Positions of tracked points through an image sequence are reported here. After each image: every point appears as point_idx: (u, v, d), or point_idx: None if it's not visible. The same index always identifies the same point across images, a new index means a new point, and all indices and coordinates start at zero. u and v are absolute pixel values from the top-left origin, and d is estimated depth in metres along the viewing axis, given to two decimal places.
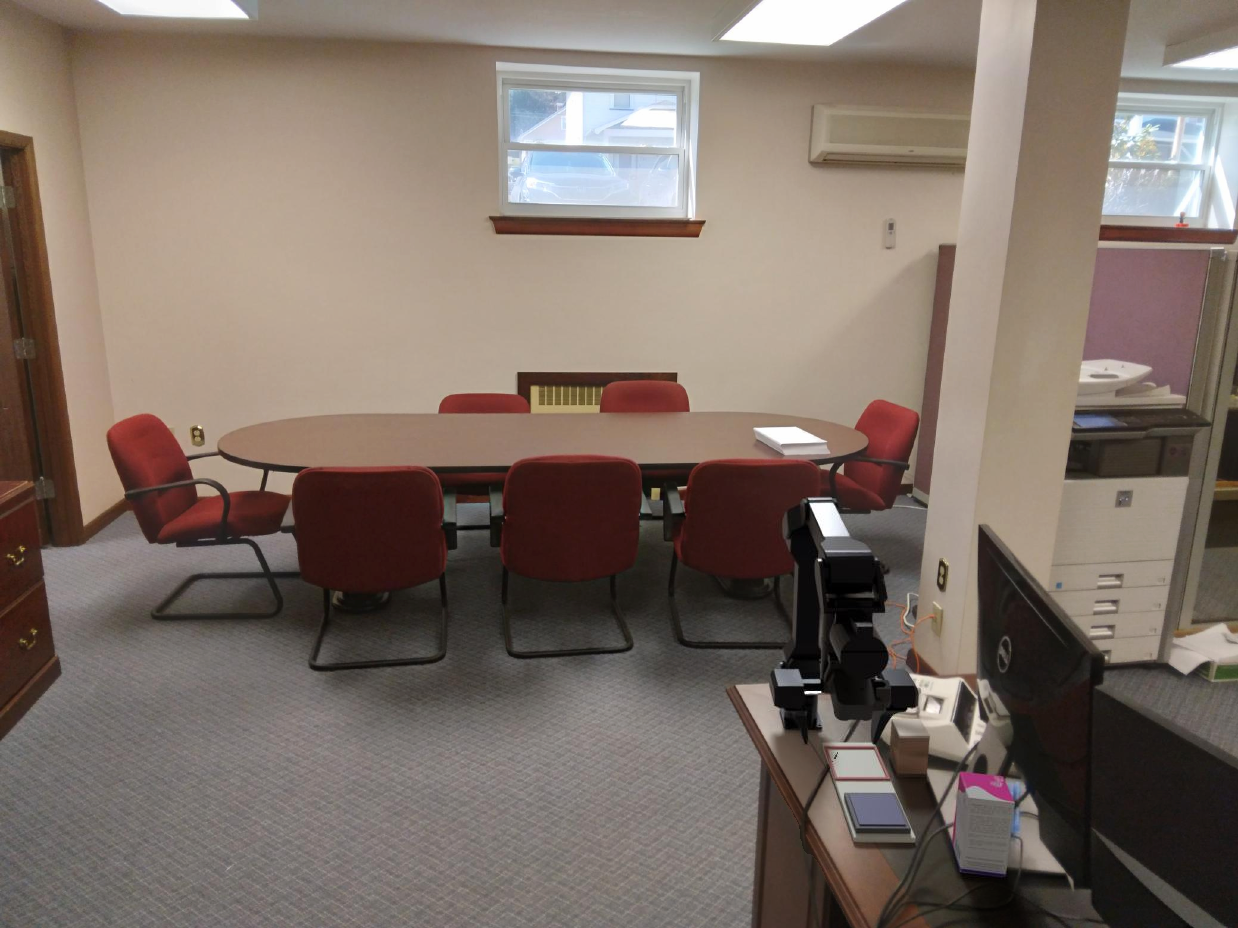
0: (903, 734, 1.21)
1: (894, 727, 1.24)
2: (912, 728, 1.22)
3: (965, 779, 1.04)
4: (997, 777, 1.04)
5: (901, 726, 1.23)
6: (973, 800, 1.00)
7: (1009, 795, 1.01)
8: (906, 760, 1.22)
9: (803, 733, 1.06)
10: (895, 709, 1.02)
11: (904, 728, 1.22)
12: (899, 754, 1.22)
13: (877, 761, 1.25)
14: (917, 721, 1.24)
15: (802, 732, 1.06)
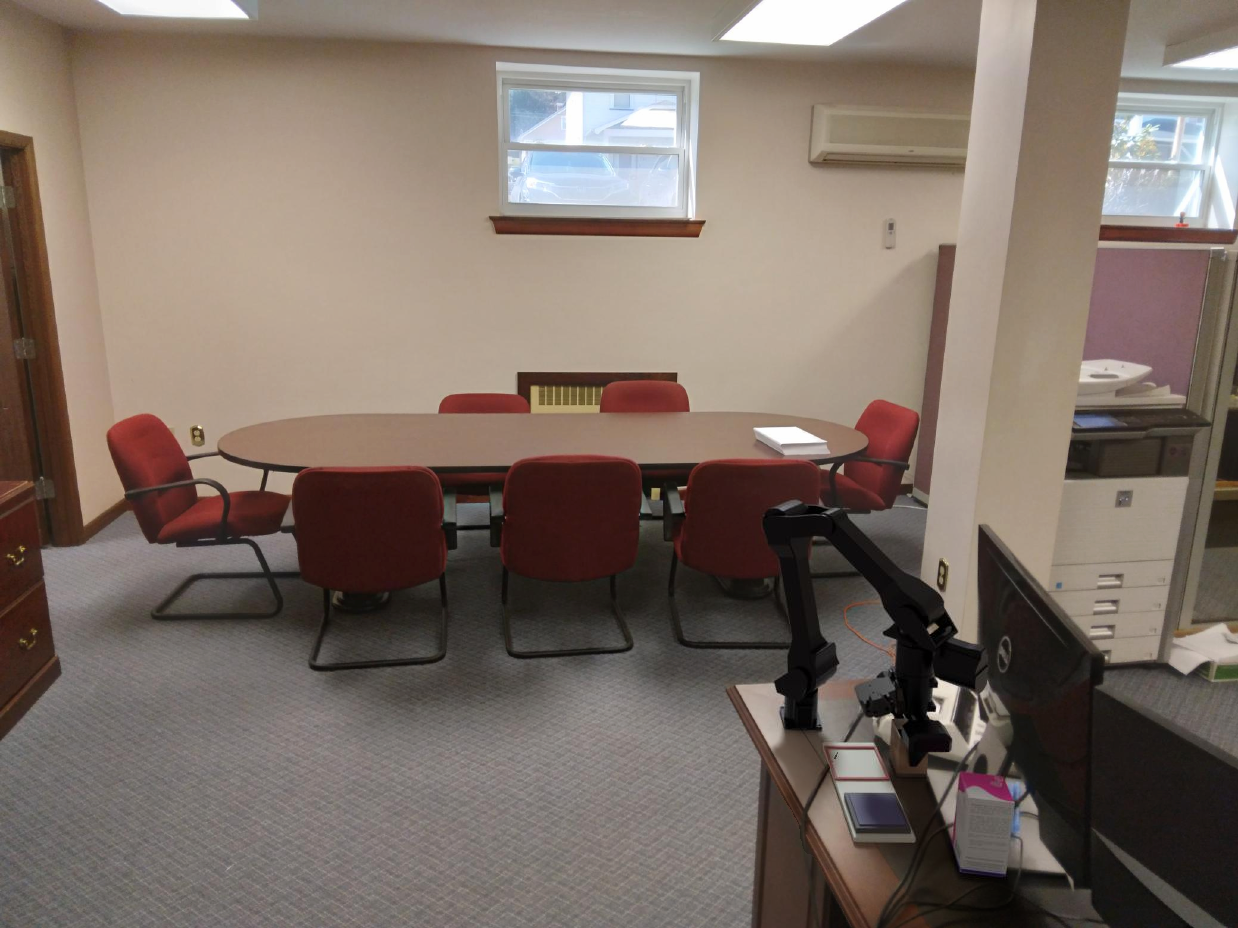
0: None
1: (894, 727, 1.24)
2: None
3: (965, 779, 1.04)
4: (997, 777, 1.04)
5: (901, 726, 1.23)
6: (973, 800, 1.00)
7: (1009, 795, 1.01)
8: (906, 760, 1.22)
9: None
10: (900, 733, 1.18)
11: None
12: (899, 754, 1.22)
13: (877, 761, 1.25)
14: None
15: None
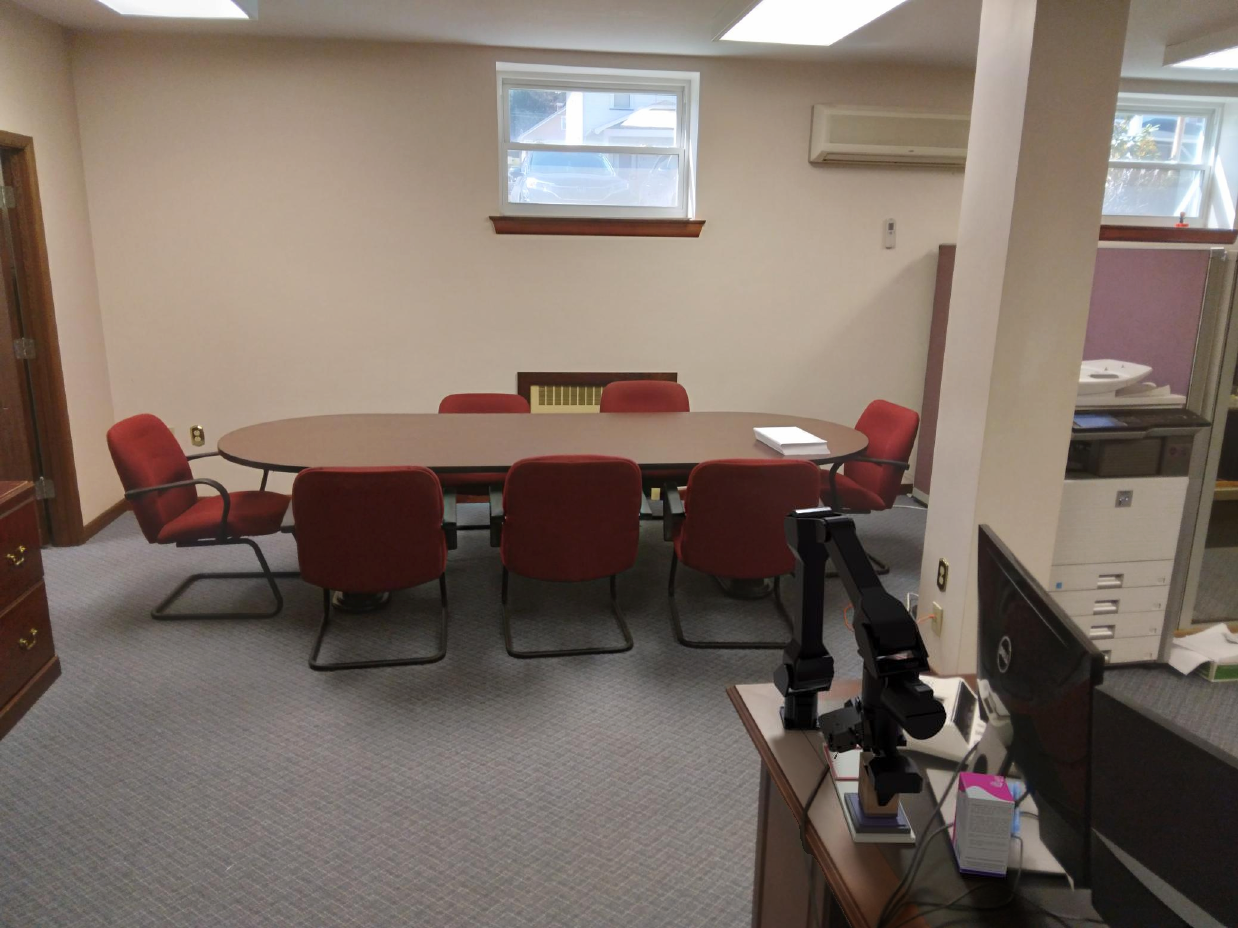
0: None
1: (862, 761, 1.12)
2: None
3: (965, 779, 1.04)
4: (997, 777, 1.04)
5: None
6: (973, 800, 1.00)
7: (1009, 795, 1.01)
8: (875, 799, 1.10)
9: None
10: (867, 770, 1.07)
11: None
12: (867, 792, 1.10)
13: None
14: None
15: None
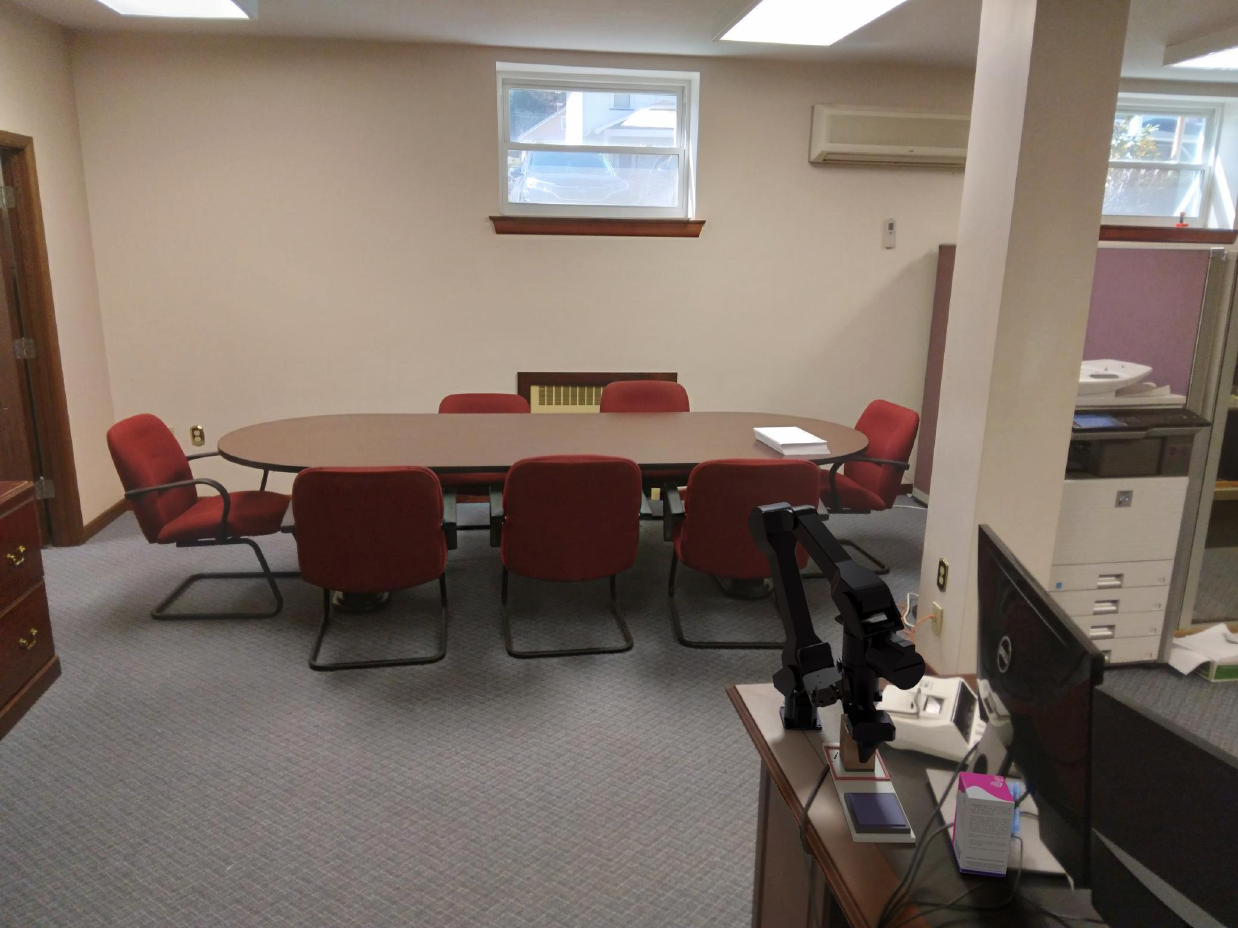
0: None
1: (843, 722, 1.24)
2: None
3: (965, 779, 1.04)
4: (997, 777, 1.04)
5: None
6: (973, 800, 1.00)
7: (1009, 795, 1.01)
8: (854, 755, 1.22)
9: None
10: (849, 729, 1.17)
11: None
12: (847, 749, 1.22)
13: (877, 761, 1.25)
14: None
15: None
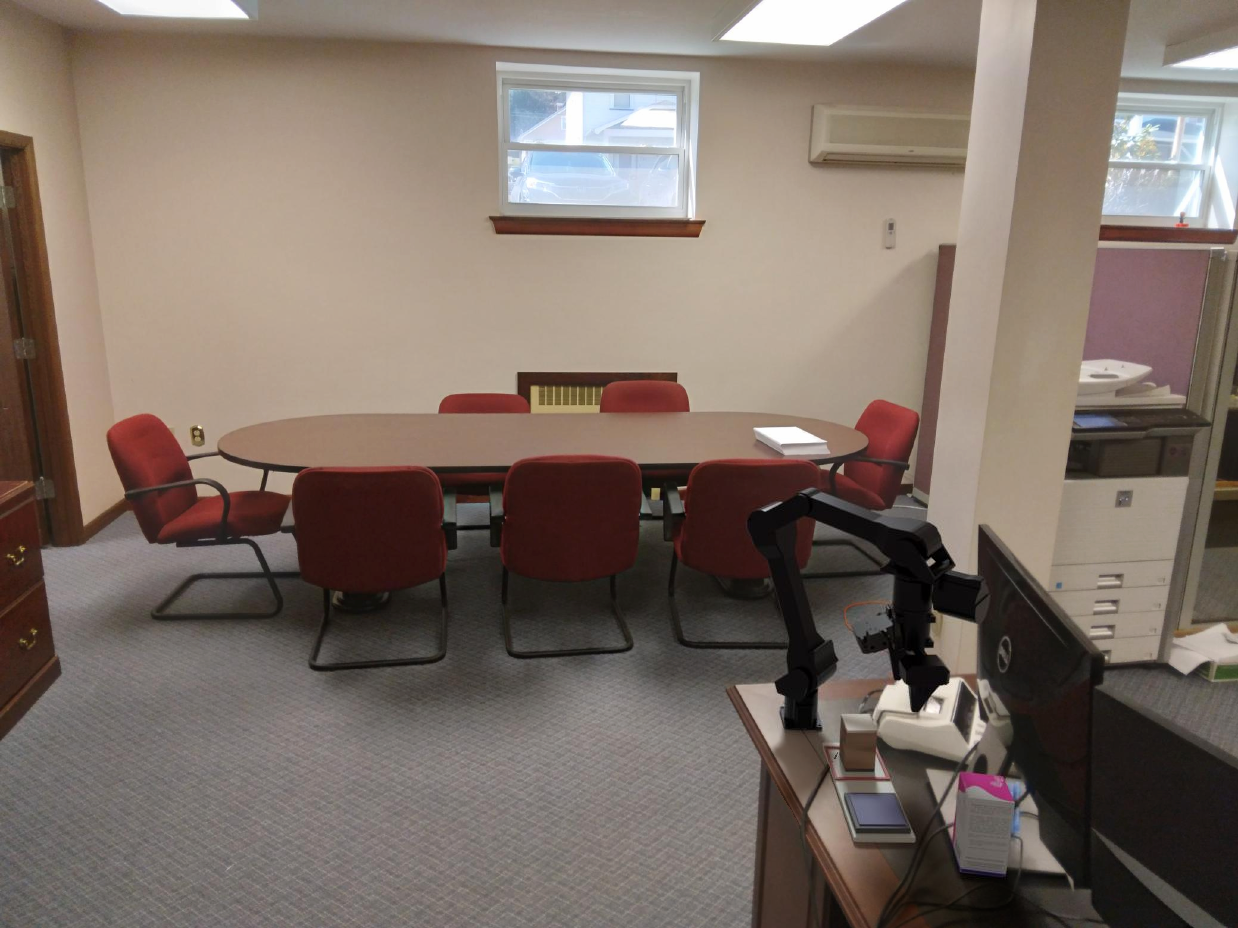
0: (851, 729, 1.21)
1: (843, 722, 1.24)
2: (860, 723, 1.22)
3: (965, 779, 1.04)
4: (997, 777, 1.04)
5: (850, 721, 1.23)
6: (973, 800, 1.00)
7: (1009, 795, 1.01)
8: (854, 755, 1.22)
9: (891, 666, 1.27)
10: None
11: (852, 723, 1.23)
12: (847, 749, 1.22)
13: (877, 761, 1.25)
14: (866, 716, 1.24)
15: None
